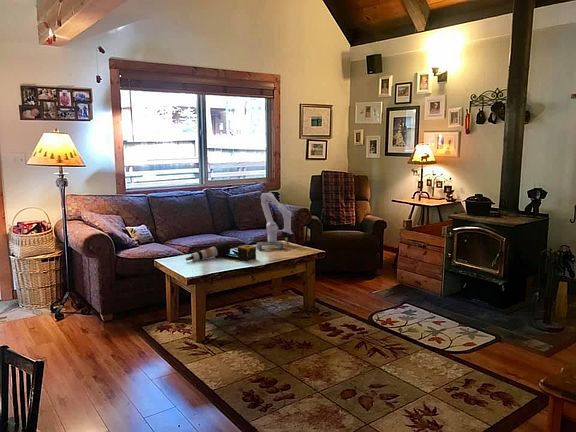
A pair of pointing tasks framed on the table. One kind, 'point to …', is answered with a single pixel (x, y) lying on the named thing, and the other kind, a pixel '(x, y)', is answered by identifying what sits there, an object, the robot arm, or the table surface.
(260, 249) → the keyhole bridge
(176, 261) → the table surface
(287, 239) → the peg
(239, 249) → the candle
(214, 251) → the white black cylinder
